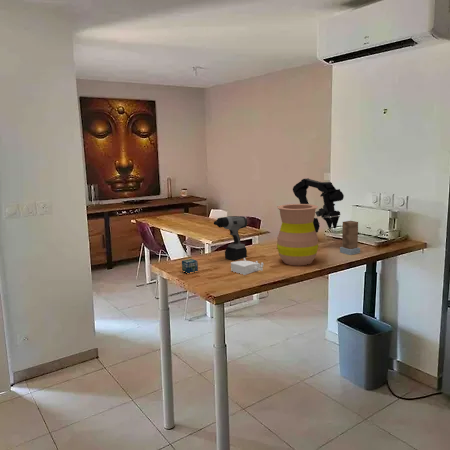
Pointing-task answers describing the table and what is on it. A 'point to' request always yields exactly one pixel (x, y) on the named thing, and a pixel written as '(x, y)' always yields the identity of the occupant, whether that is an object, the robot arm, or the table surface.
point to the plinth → (349, 251)
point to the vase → (297, 234)
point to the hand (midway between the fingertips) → (332, 228)
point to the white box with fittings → (245, 267)
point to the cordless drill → (233, 224)
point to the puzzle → (190, 265)
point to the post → (350, 235)
